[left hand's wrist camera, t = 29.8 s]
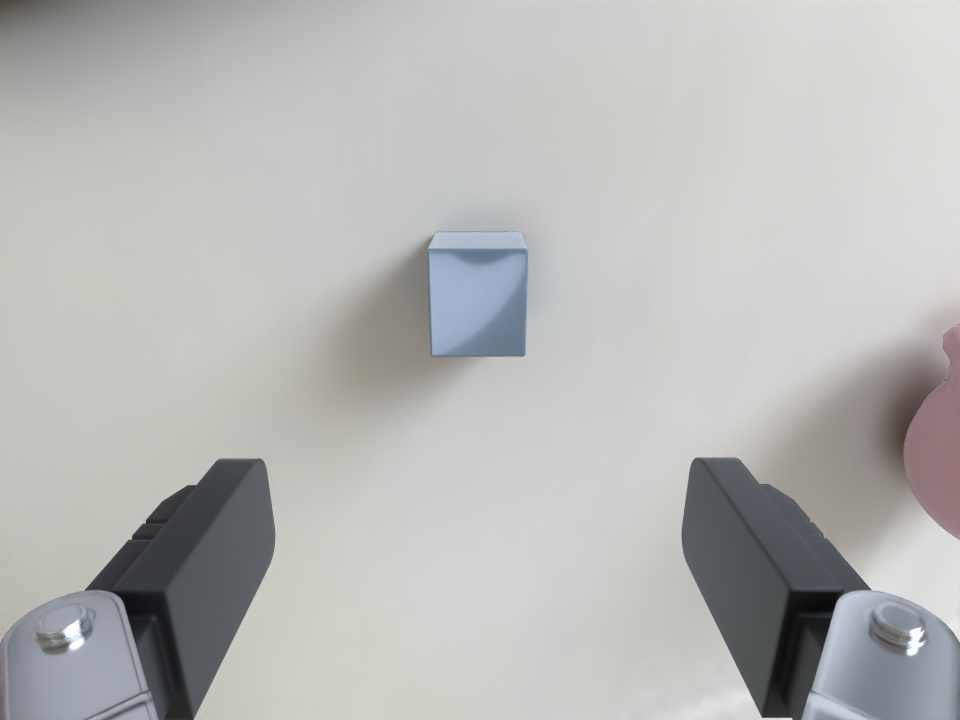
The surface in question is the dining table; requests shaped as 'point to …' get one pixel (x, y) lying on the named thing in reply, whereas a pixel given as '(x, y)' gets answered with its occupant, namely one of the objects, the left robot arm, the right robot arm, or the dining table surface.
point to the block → (477, 294)
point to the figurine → (938, 445)
